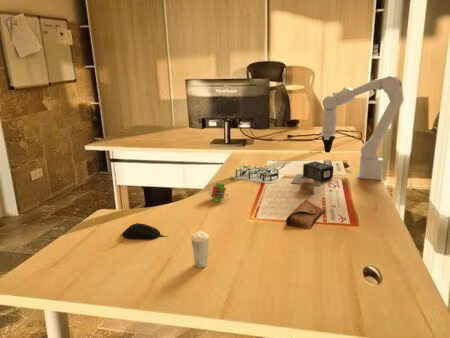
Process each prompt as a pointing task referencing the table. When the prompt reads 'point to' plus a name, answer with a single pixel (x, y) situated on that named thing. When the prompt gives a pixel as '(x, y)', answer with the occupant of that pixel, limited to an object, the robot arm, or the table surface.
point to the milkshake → (200, 248)
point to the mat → (298, 176)
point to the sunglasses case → (304, 215)
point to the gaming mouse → (141, 232)
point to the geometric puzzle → (217, 192)
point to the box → (318, 171)
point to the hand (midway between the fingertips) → (327, 152)
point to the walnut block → (306, 186)
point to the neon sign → (258, 174)
